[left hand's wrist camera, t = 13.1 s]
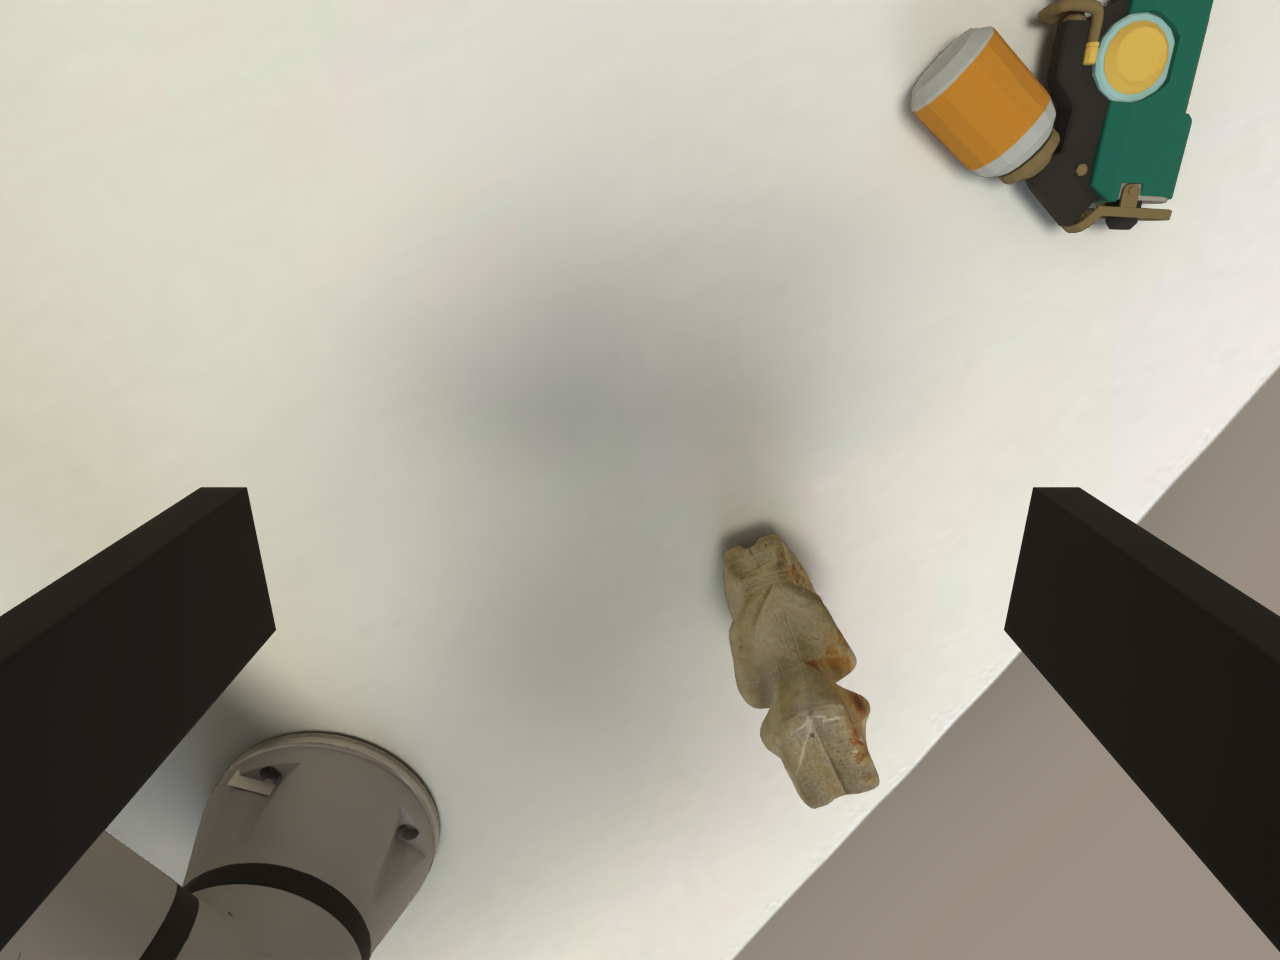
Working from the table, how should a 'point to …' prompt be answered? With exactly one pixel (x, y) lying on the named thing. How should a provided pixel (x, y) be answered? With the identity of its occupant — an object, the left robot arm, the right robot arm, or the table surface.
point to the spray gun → (1076, 107)
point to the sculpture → (796, 672)
